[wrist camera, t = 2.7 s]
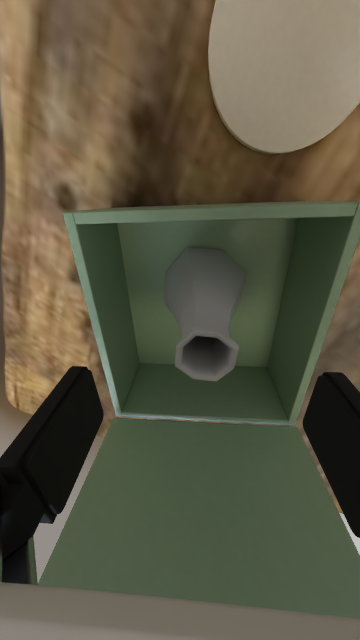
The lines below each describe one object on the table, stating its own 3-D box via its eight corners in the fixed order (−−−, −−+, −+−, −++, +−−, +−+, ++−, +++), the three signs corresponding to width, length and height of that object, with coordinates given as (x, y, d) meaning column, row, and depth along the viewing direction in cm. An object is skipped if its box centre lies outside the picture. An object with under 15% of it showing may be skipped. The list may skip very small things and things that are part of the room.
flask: (152, 305, 21) (118, 381, 12) (181, 230, 17) (162, 262, 9) (220, 332, 22) (234, 422, 13) (261, 266, 18) (316, 328, 10)
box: (110, 207, 18) (61, 212, 11) (307, 200, 16) (372, 201, 10) (136, 363, 25) (115, 416, 19) (270, 367, 24) (294, 425, 18)
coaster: (210, -93, 11) (211, -108, 10) (434, -128, 10) (447, -146, 9) (205, 158, 16) (206, 157, 15) (355, 150, 15) (361, 148, 14)
